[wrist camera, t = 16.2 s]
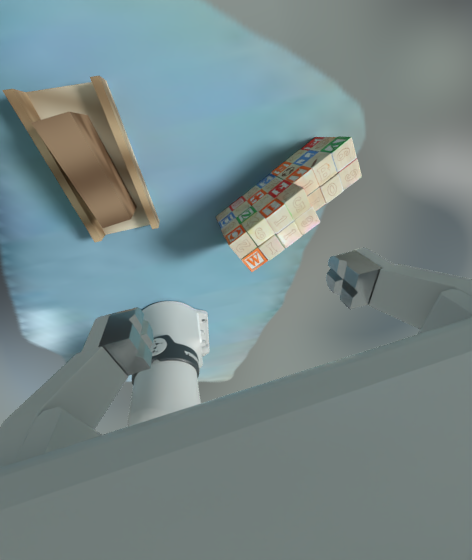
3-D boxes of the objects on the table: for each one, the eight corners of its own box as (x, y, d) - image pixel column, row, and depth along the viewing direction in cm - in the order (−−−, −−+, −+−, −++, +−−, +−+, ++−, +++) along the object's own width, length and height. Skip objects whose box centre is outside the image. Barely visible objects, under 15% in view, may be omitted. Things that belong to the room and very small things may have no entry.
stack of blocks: (315, 135, 35) (370, 136, 25) (327, 168, 38) (379, 181, 29) (214, 217, 39) (228, 246, 29) (234, 241, 42) (251, 274, 32)
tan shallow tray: (159, 221, 37) (158, 227, 34) (100, 234, 36) (94, 242, 33) (106, 81, 26) (99, 75, 23) (19, 94, 25) (2, 90, 22)
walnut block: (57, 124, 27) (31, 122, 22) (87, 115, 27) (68, 111, 22) (113, 214, 34) (102, 228, 29) (137, 207, 34) (130, 219, 29)
